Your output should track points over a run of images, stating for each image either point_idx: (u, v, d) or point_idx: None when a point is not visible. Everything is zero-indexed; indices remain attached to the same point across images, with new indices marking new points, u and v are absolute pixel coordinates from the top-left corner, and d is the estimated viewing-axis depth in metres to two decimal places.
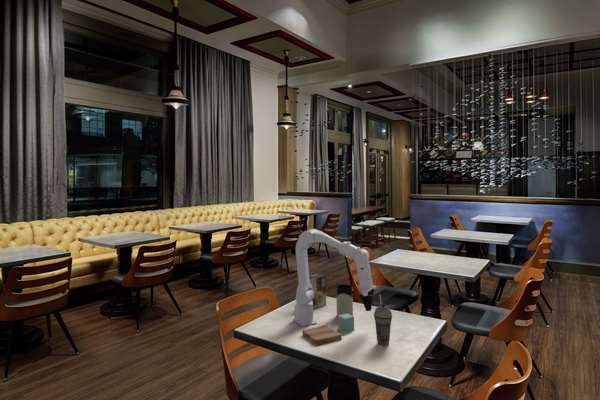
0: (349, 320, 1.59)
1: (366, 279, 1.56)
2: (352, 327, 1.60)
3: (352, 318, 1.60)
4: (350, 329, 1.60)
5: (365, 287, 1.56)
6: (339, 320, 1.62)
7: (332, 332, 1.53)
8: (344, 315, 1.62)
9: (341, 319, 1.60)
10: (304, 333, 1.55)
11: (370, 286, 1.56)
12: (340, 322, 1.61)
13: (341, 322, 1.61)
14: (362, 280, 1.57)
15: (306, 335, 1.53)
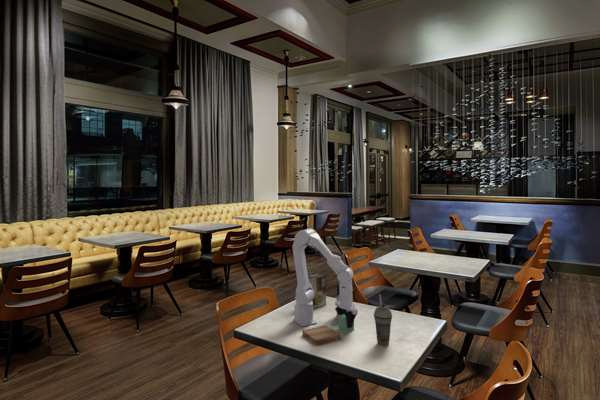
0: None
1: (351, 297, 1.60)
2: (352, 327, 1.60)
3: None
4: (350, 329, 1.60)
5: (349, 305, 1.59)
6: (339, 320, 1.62)
7: (332, 332, 1.53)
8: (344, 315, 1.62)
9: (341, 319, 1.60)
10: (304, 333, 1.55)
11: (352, 304, 1.61)
12: (340, 322, 1.61)
13: (341, 321, 1.61)
14: (347, 299, 1.59)
15: (306, 335, 1.53)
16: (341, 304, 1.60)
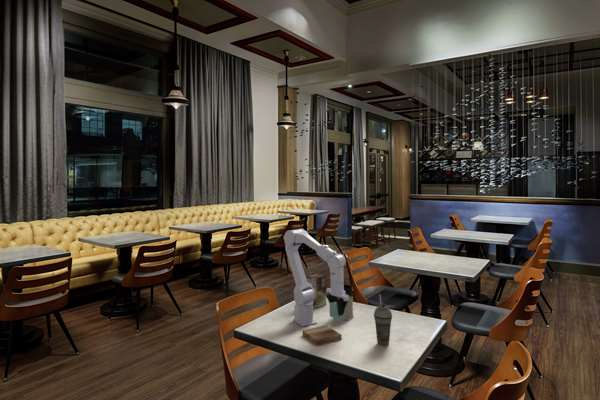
0: None
1: (342, 284, 1.56)
2: (343, 314, 1.57)
3: None
4: (341, 316, 1.57)
5: (340, 292, 1.56)
6: (331, 307, 1.59)
7: (332, 332, 1.53)
8: (335, 302, 1.59)
9: (333, 307, 1.57)
10: (304, 333, 1.55)
11: (343, 291, 1.58)
12: (331, 309, 1.58)
13: (332, 309, 1.58)
14: (338, 285, 1.55)
15: (306, 335, 1.53)
16: (332, 291, 1.57)
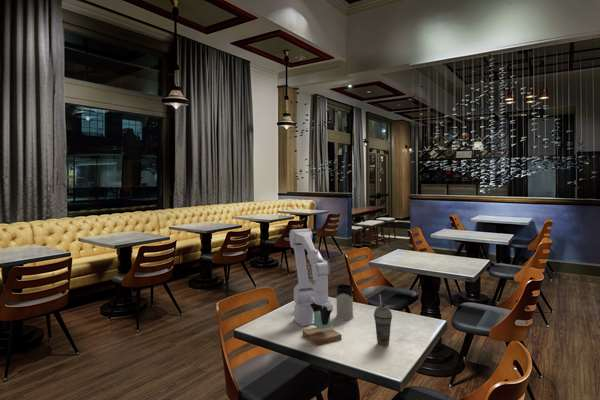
0: None
1: (326, 292, 1.51)
2: (328, 324, 1.52)
3: None
4: (326, 326, 1.52)
5: (324, 301, 1.51)
6: (315, 316, 1.53)
7: (332, 332, 1.53)
8: None
9: (317, 316, 1.52)
10: (304, 333, 1.55)
11: (327, 299, 1.52)
12: (316, 318, 1.53)
13: (316, 318, 1.53)
14: (322, 294, 1.50)
15: (306, 335, 1.53)
16: (316, 300, 1.51)
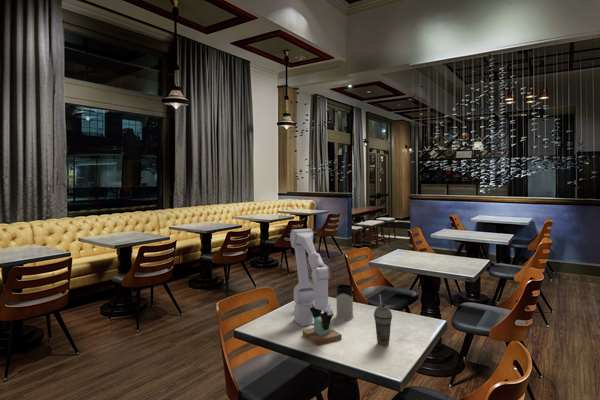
0: None
1: (326, 297, 1.51)
2: (328, 330, 1.52)
3: None
4: (326, 332, 1.52)
5: (324, 306, 1.51)
6: (315, 322, 1.53)
7: (332, 332, 1.53)
8: (320, 317, 1.54)
9: (317, 322, 1.52)
10: (304, 333, 1.55)
11: (327, 304, 1.52)
12: (316, 325, 1.53)
13: (316, 324, 1.53)
14: (322, 298, 1.50)
15: (306, 335, 1.53)
16: (316, 304, 1.51)
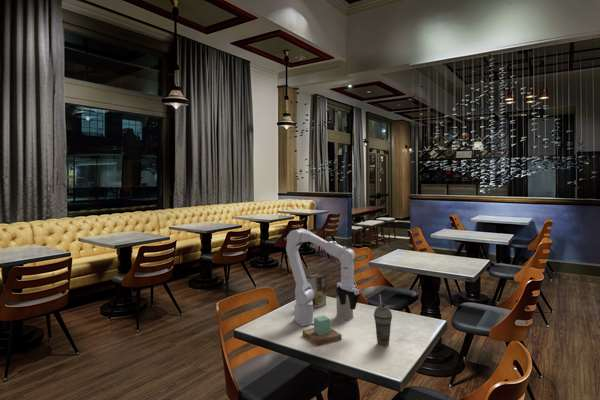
0: (324, 322, 1.51)
1: (352, 278, 1.59)
2: (328, 330, 1.52)
3: (328, 321, 1.52)
4: (326, 332, 1.52)
5: (351, 286, 1.58)
6: (315, 322, 1.53)
7: (332, 332, 1.53)
8: (320, 317, 1.54)
9: (317, 322, 1.52)
10: (304, 333, 1.55)
11: (353, 285, 1.60)
12: (316, 325, 1.53)
13: (316, 324, 1.53)
14: (349, 279, 1.58)
15: (306, 335, 1.53)
16: (343, 285, 1.59)
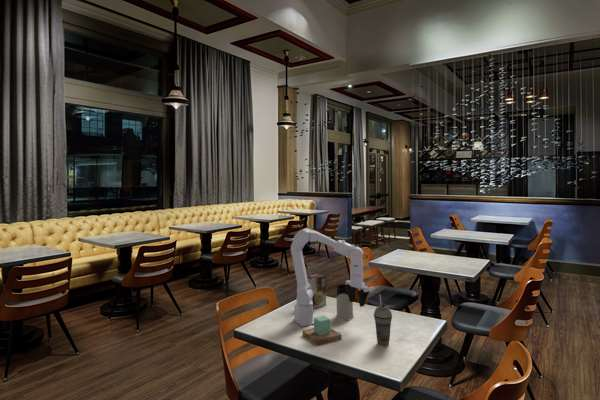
0: (324, 322, 1.51)
1: (361, 276, 1.62)
2: (328, 330, 1.52)
3: (328, 321, 1.52)
4: (326, 332, 1.52)
5: (360, 284, 1.62)
6: (315, 322, 1.53)
7: (332, 332, 1.53)
8: (320, 317, 1.54)
9: (317, 322, 1.52)
10: (304, 333, 1.55)
11: (362, 282, 1.63)
12: (316, 325, 1.53)
13: (316, 324, 1.53)
14: (358, 277, 1.61)
15: (306, 335, 1.53)
16: (352, 282, 1.62)
